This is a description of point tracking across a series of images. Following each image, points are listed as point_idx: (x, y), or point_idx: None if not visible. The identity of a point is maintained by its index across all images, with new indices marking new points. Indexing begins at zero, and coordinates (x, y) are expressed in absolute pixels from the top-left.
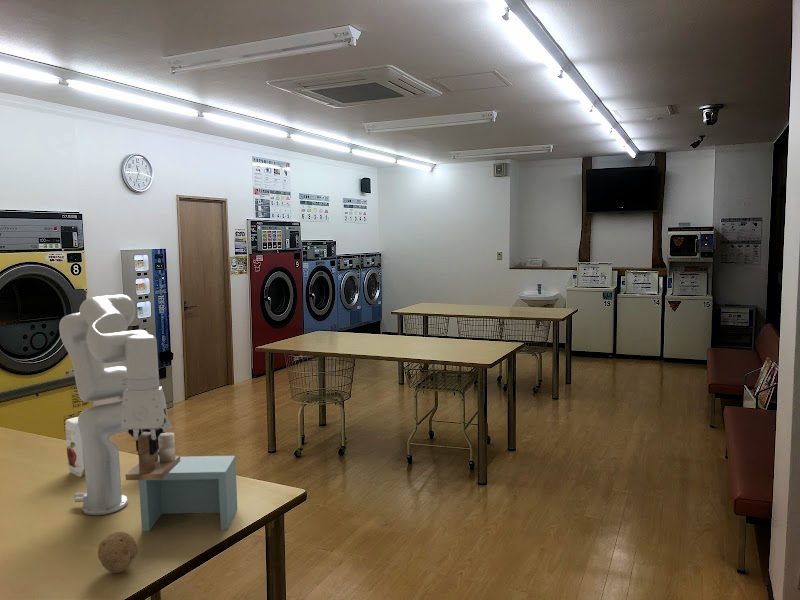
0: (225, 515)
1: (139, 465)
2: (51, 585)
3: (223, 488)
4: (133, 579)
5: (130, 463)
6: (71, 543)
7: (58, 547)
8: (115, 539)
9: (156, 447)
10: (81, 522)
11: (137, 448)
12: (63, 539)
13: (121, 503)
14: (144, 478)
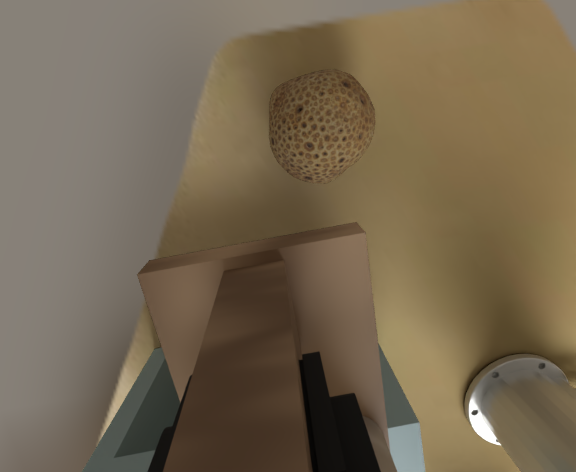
0: (145, 370)
1: (283, 282)
2: (445, 40)
3: (114, 430)
4: (255, 100)
5: None
6: (503, 229)
7: (525, 207)
8: (315, 99)
9: (158, 450)
10: (531, 321)
11: (346, 407)
12: (533, 243)
13: (476, 406)
14: (247, 244)
